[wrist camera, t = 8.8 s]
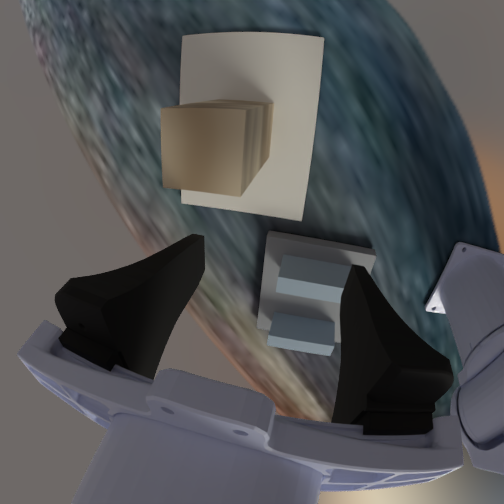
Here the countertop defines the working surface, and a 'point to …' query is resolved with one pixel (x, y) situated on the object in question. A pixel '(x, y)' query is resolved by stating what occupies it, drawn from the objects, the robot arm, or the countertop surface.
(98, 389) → the robot arm
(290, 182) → the mat
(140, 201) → the countertop surface
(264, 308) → the vise
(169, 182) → the peg
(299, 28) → the countertop surface
